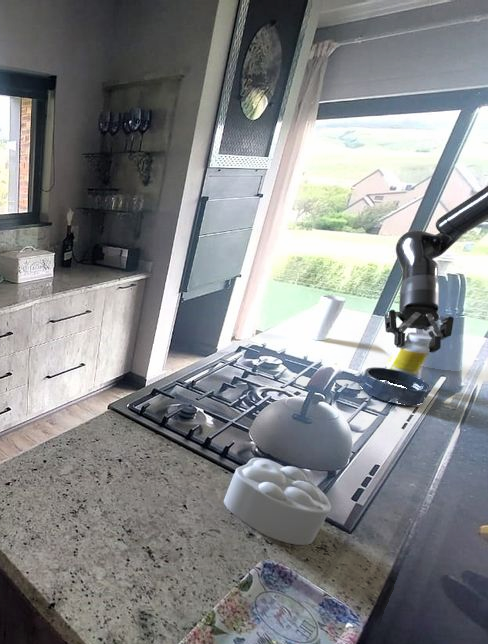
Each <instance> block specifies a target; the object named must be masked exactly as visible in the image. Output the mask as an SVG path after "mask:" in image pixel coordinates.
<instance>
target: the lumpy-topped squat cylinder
mask: <svg viewBox="0 0 488 644" xmlns="http://www.w3.org/2000/svg"><path fill="white" fill-rule="evenodd" d="M223 504H224V506H225V507H226V509H227V510H228V511H229V512H230V513H232V514H233V516H235V517H236V518H238V519H239V520H241V521H242V522H244V523H245V524H246V525H248V526H249V527H251V528H252V529H254V530H255V531H257V532H259V533H260V534H262V535H264V536H266V537H268V538H271V539H274V540H276V541H279V542H283V543H286V544H289V545H295V546H296V545H297V546H307V545H310V544H312V543H313V542H314V540H315V538H316V536H317V535H318V533H319V531H320V530H321V528H322V526H323V524H324V522H325V521H326V519H327V517H328V516H329V513H330V512H331V510H332V505H331V503H330V500H329V498H328V497H327V495H326V494H325V493H324V492H323V491H322V490H321V489H320V488H319V487H318V486H317V485H316V484H315V483H314V482H312V481H311V480H310V479H308V478H307V476H306V475H305V473H304V472H303V471H302V470H301V468H298V467H296V466H291V465H287V466H284V465H282V464H280V463H278V462H276V461H273V460H271V459H268V458H263V457H253V458H251V459H249V460H248V462H247V463H246V464H243V465H241V466H238V467H237V468H236V469H235V471H234V473H233V476H232V479H231V481H230V483H229V486H228V488H227V491H226V494H225V496H224V499H223Z"/></svg>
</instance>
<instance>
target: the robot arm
mask: <svg viewBox="0 0 488 644" xmlns="http://www.w3.org/2000/svg"><path fill="white" fill-rule="evenodd" d="M486 221H488V185H487V186H485V187H483V188H482V189H480V190H479V191H478V192H477V193H475V194H473V195H472V196H470V197H469V198H467V199H466V200H465V201H463V202H461V203H460V204H458V205H457V206H455V207H454V208H452V209H451V210H449V211H447V212H446V213H445V214H443V215H441V217H439V218H438V219H437V220H436V222H435V228H436V230H437V231H438V233H436V234H434V233H430V232H427V231H425V230H420V229H413V230H409V231H407V232H405V233H404V234H402V235H401V236H400V237H399V238H398V239H397V242H396V244H395V254H396V258H397V260H398V264H399V266H400V268H401V270H402V271H401V283H400V288H399V303H398V304H399V305H398V306H399V307H398V310H399V311H396V310H395V309H390V310H389V311H387V312H386V313H384V327H385V332H386V333H391V334H393V335H394V338H393V339H394V340H393V344H394V346H395V348H396V347H397V348H401V347H403V346H404V345H405V340H406V332H405V331H406V330H407V329H416V330H420V331H422V332H423V334H424V335H427V336H430V337H431V338H432V339H431V341H430V342H429V343H428V347H429V348H430V351H429V353H431V354H433V353H435V352H438V351H439V350H440V349H441V347H442V346H441V345H442V341H444V340H446V338H449V337H451V336H452V332H453V326H454V320H455V318H454V317H453V316H448V317H444V316H440V314H439V313H438V311H439V307H440V300H439V298H440V282H439V264H438V262H437V261H436V260H434V259H436V258H439V257H441V256H443V254H444V253H446V252H447V251H448V249H450V248H451V247H452V246H453V245H454V244H455V243H456V242H457V241H458V240H459V239H461V237H463V236H464V235H465V234H466V233H468V232H470V231H471V230H473V229H475V228H476V227H478V226H480V225H481V224H483V223H485V222H486ZM436 275H437V276H436ZM397 318H398V319H399V320H400V321H401V323H400V325H398V327H397ZM437 322H438V323H437Z"/></svg>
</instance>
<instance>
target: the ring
mask: <svg viewBox="0 0 488 644" xmlns="http://www.w3.org/2000/svg"><path fill="white" fill-rule="evenodd" d="M360 379H361V380H360ZM360 379H359V381H360V383H359V382H358V383H359V386H361V387H362V388H363V390H364V391H365V392H364V391H363V390H362V391H363V392H364V393H365V394H367V395H369V396H371V397H373V396H374V397H373V398H375V397H376V398H375V399H377V398H378V399H377V400H380V399H381V400H380V401H383V400H384V401H383V402H386V401H387V403H389V402H388V401H390V400H391V399H393V398H397V399H398V400H397V401H398V403H401V404H405V405H404V406H406V405H417V404H420V403H423V402H424V403H425V401H426V400H427V398H428V397H429V395H430V393H431V391H432V390H433V386H432V384H431V383H429V381H427V380H425V379H423V378H422V377H419V376H417V375H415V376H414V375H411V374H408V373H405V372H402V371H398V370H393V369H388V368H385V367H379V366H378V367H375V366H373V367H367V368H366V369H365V370H364V372H363V373H362V376H361V378H360ZM380 380H387V381H389V382H390V383H393V384H397V385H402V386H404V387H406V388H407V389H406V388H401V387H397V386H394V385H390V384H387V383H384V382H382V381H380ZM359 386H358V387H359ZM424 403H423V404H424Z"/></svg>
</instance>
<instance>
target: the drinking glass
mask: <svg viewBox="0 0 488 644" xmlns="http://www.w3.org/2000/svg"><path fill="white" fill-rule="evenodd" d="M345 303H346V298H345V297H342V296H339V295H333V294H331V295H330V294H323V295H321V296H320V298H319V301H318V303H317V305H316V309H315V311H314V314H313V318H312V321H311V323H310V324H311V325H310V327H309V331H308V332H307V338H309V339H311V340H314V341H322V342H323V341H326V339H327V337H328V335H329V334H330V331H331V330H332V328H333V326H334V324H335V323H336V321H337V319H338V317H339V316H340V314H341V313H342V310H343V309H344V306H345Z"/></svg>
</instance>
